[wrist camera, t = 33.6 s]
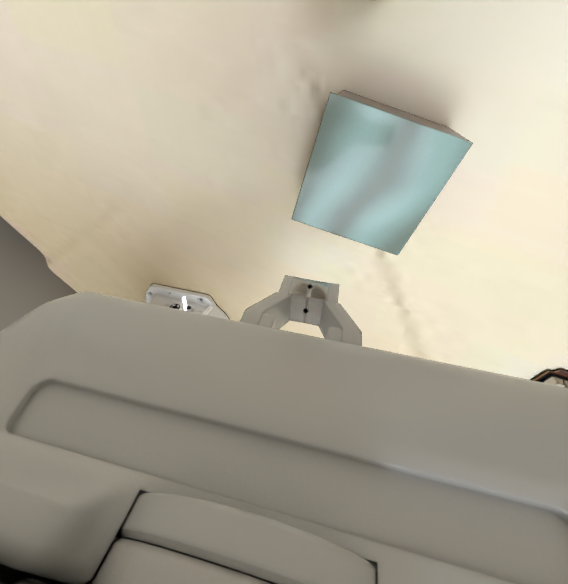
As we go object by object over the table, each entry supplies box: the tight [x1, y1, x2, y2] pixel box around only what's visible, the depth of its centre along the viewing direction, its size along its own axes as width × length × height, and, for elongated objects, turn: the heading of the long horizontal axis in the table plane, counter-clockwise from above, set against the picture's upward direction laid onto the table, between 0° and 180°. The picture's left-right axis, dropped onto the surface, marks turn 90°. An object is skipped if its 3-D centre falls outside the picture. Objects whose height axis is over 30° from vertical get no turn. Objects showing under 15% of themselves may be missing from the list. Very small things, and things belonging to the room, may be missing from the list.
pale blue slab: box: [292, 92, 473, 255], centre depth 31 cm, size 15×14×1 cm
